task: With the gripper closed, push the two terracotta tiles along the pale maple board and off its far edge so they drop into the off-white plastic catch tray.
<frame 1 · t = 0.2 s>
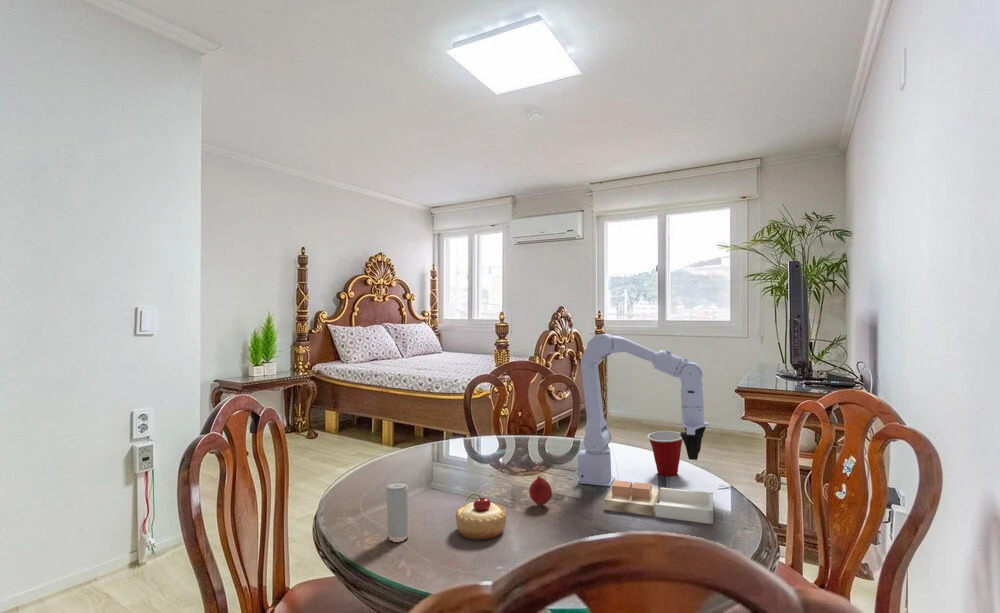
hand: (694, 455, 133), 10 cm above the table, tool pointing down, fingers open, 7 cm apart
pastry: (481, 532, 112), on the table
tile b: (642, 495, 125), point 2 cm above the table, touching board
tile a: (622, 493, 127), point 2 cm above the table, touching board
tray: (683, 510, 121), on the table
beverage can: (398, 539, 110), on the table
plastic cup: (666, 474, 150), on the table
board: (632, 504, 126), on the table
onion: (541, 506, 126), on the table
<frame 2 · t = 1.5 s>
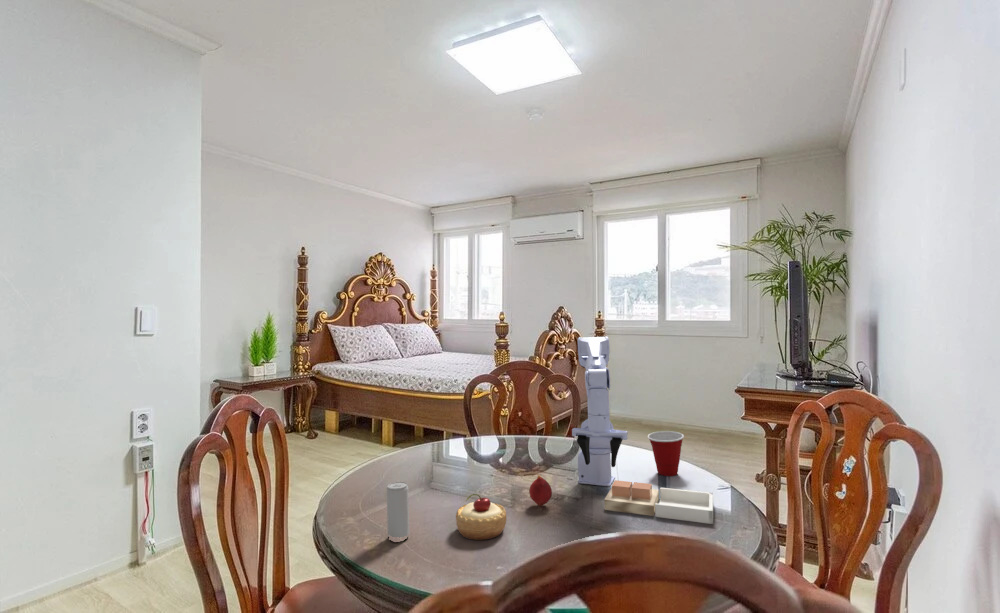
hand: (600, 464, 129), 9 cm above the table, tool pointing down, fingers open, 6 cm apart
nothing on the table moved.
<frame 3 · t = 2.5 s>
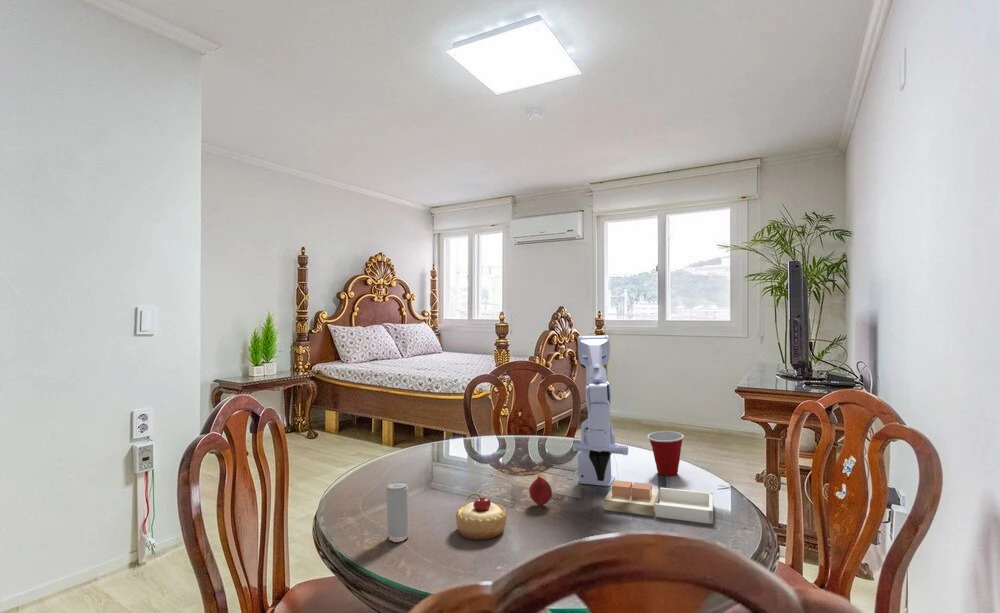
hand: (601, 479, 129), 5 cm above the table, tool pointing down, fingers closed
nothing on the table moved.
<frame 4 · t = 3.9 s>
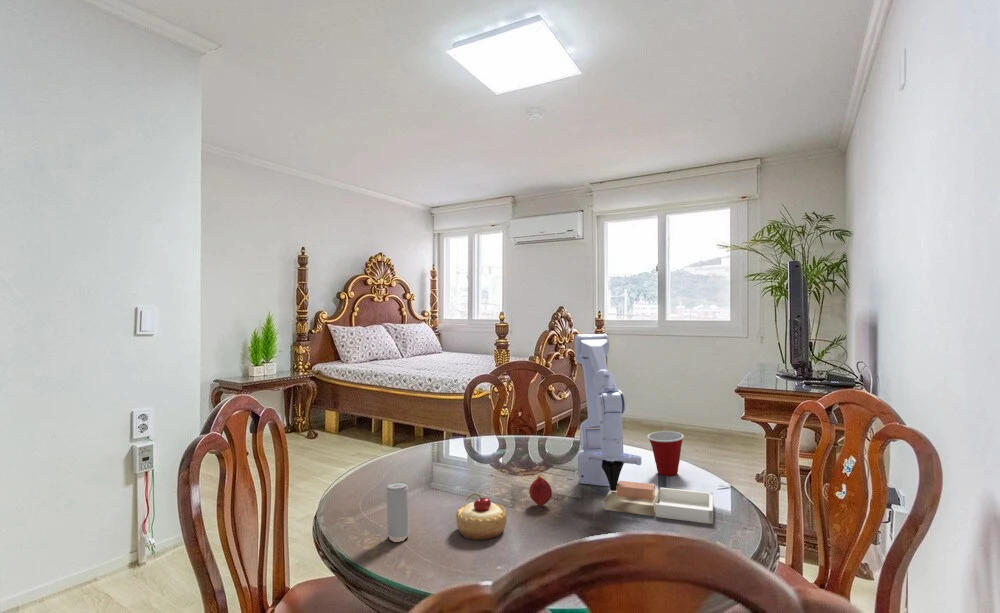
hand: (613, 489, 128), 3 cm above the table, tool pointing down, fingers closed
tile b: (644, 495, 125), point 3 cm above the table, touching board, tile a
tile a: (627, 493, 126), point 3 cm above the table, touching gripper, tile b
everything else where it was.
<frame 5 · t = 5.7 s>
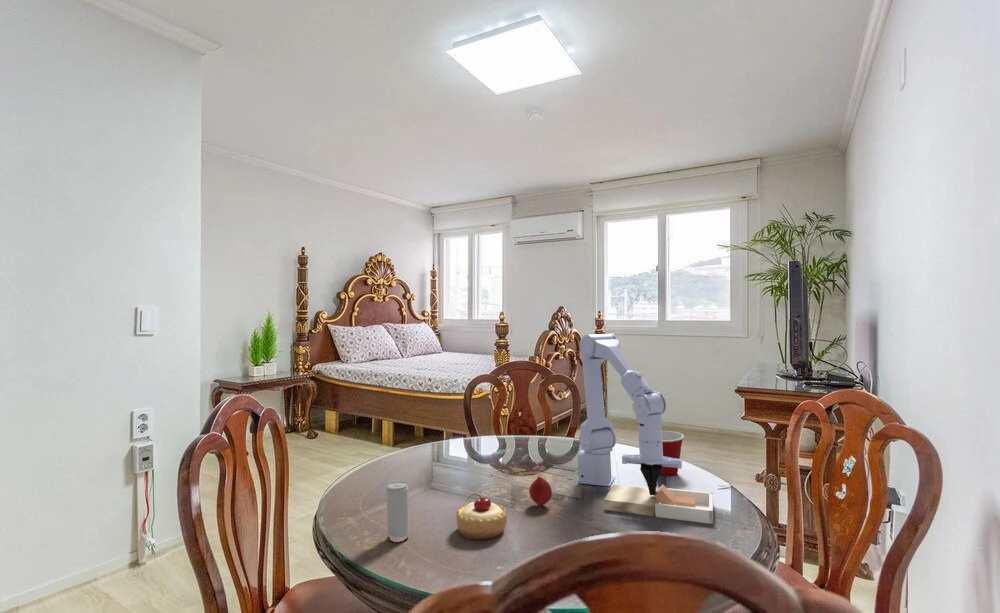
hand: (652, 494, 124), 3 cm above the table, tool pointing down, fingers closed
tile b: (686, 509, 120), resting on tray
tile a: (662, 500, 123), point 2 cm above the table, tilted 44°, touching gripper
everything else where it was.
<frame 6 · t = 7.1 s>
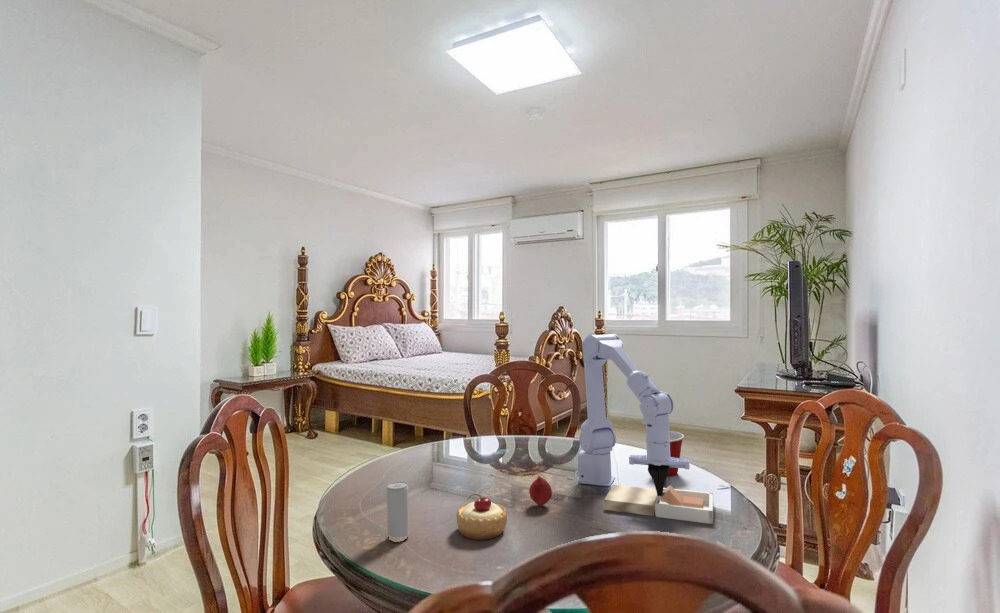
hand: (660, 494, 123), 3 cm above the table, tool pointing down, fingers closed
tile b: (693, 510, 120), resting on tray, touching tile a
tile a: (669, 501, 122), point 2 cm above the table, tilted 44°, touching gripper, tile b, tray
everything else where it was.
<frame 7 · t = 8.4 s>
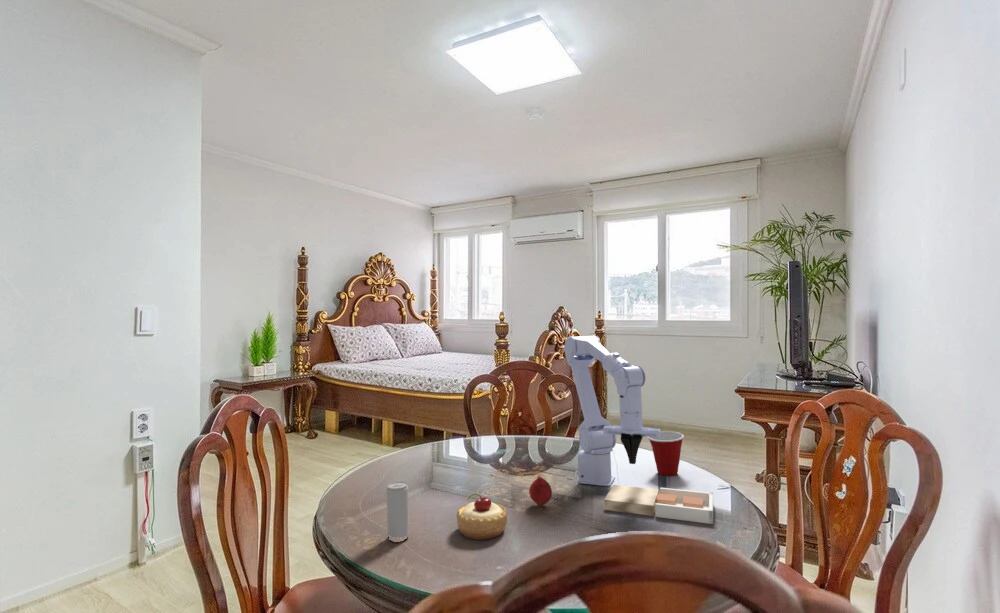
hand: (632, 462, 129), 10 cm above the table, tool pointing down, fingers closed
tile b: (693, 510, 120), resting on tray
tile a: (666, 507, 122), resting on tray
everything else where it was.
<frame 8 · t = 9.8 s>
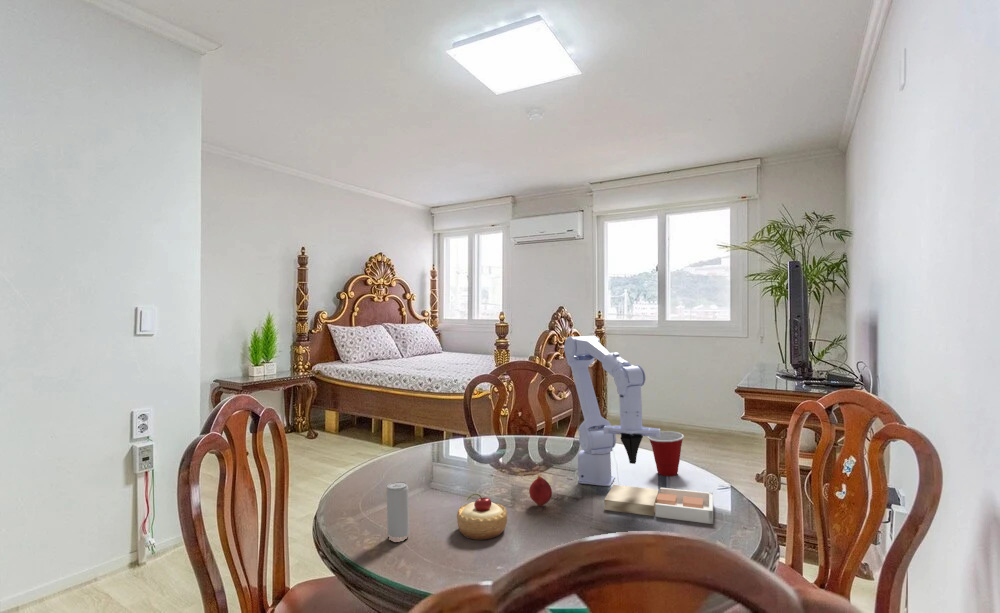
hand: (632, 462, 129), 10 cm above the table, tool pointing down, fingers closed
nothing on the table moved.
at the end: tile a inside the target area on the tray (4.2 cm from its centre), point 0.3 cm above the tray's base; tile b inside the target area on the tray (2.1 cm from its centre), point 0.3 cm above the tray's base; tile a touching tray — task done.
